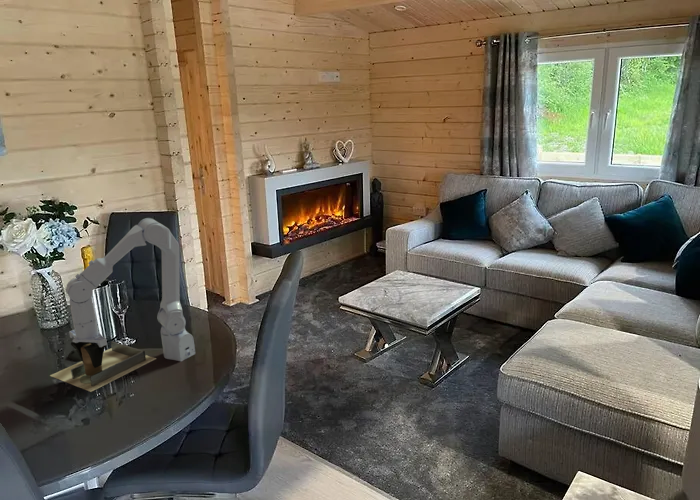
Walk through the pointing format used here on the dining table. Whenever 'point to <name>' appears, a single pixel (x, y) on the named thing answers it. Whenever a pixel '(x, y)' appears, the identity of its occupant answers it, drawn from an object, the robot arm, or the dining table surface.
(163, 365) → the dining table surface
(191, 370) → the dining table surface
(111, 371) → the channel walls
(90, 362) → the peg
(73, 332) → the robot arm
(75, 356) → the game controller
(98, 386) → the board
